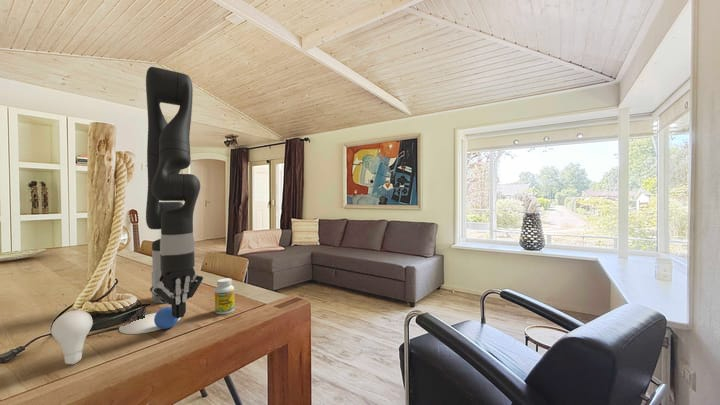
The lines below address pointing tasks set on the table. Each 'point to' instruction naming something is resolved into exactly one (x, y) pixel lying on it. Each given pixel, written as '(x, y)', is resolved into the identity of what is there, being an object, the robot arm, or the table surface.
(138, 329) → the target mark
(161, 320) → the ball
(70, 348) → the lightbulb
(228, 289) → the supplement bottle
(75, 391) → the table surface
